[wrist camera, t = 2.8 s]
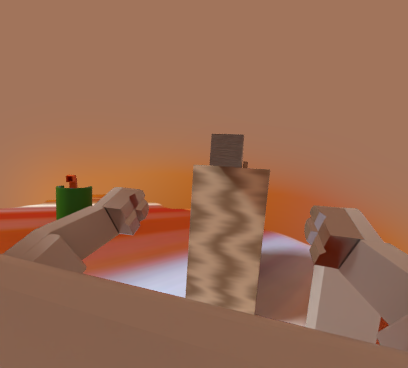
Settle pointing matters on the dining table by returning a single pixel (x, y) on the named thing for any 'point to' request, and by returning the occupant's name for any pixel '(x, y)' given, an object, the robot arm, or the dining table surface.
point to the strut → (226, 150)
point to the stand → (226, 235)
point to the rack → (340, 307)
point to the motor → (72, 198)
